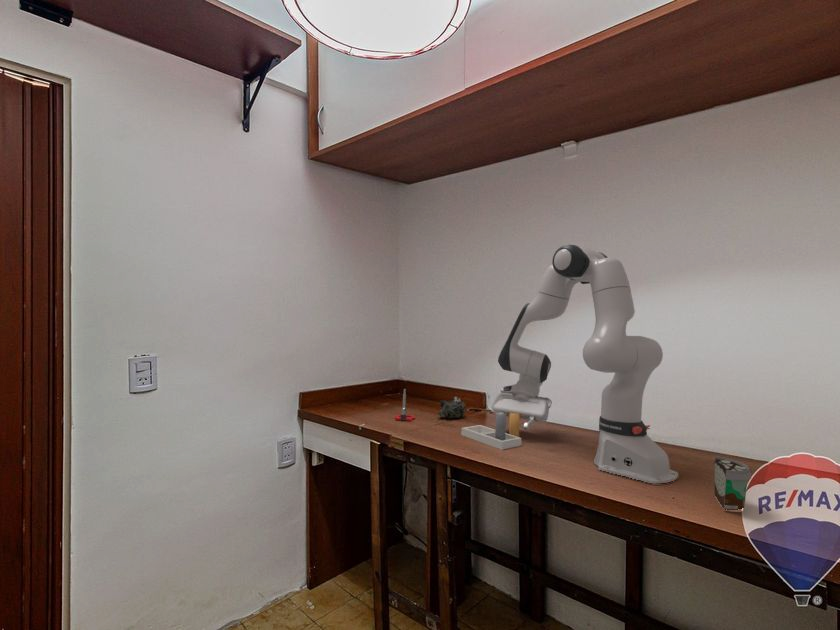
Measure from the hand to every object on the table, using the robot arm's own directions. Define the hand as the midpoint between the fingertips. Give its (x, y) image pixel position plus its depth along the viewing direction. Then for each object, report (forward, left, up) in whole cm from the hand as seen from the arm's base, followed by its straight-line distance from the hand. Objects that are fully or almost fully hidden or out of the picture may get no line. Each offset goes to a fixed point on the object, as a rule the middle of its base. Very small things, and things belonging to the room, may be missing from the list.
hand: (513, 426), depth 156 cm
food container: (-65, -7, -6) cm, 65 cm away
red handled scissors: (+47, +14, -6) cm, 50 cm away
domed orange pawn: (0, -1, -5) cm, 5 cm away
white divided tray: (+3, +8, -5) cm, 10 cm away
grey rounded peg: (-2, +8, -4) cm, 9 cm away
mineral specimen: (+41, -5, -6) cm, 42 cm away
